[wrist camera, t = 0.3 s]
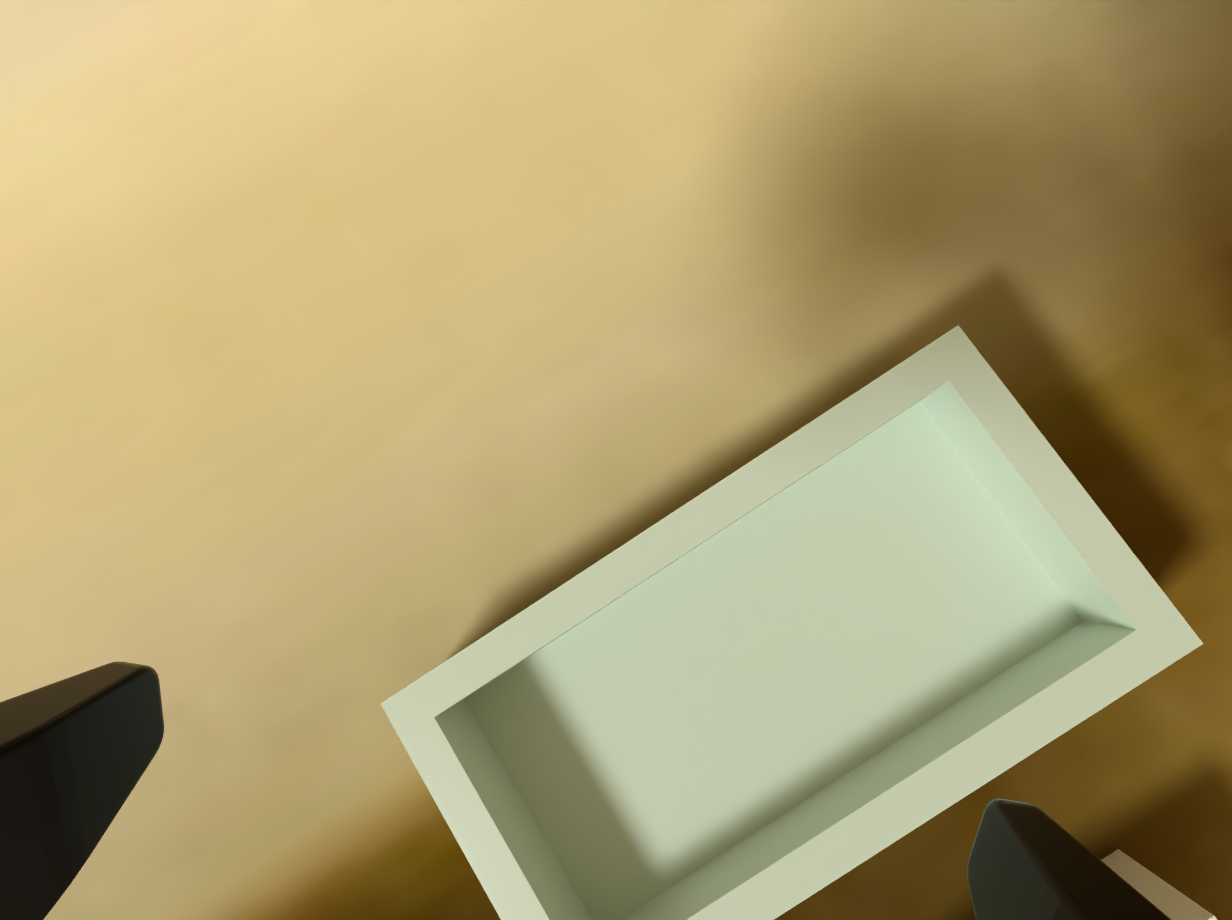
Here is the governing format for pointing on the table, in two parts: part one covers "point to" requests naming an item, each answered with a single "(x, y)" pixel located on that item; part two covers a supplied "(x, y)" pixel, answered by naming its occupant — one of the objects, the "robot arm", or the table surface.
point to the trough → (791, 663)
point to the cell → (1156, 889)
